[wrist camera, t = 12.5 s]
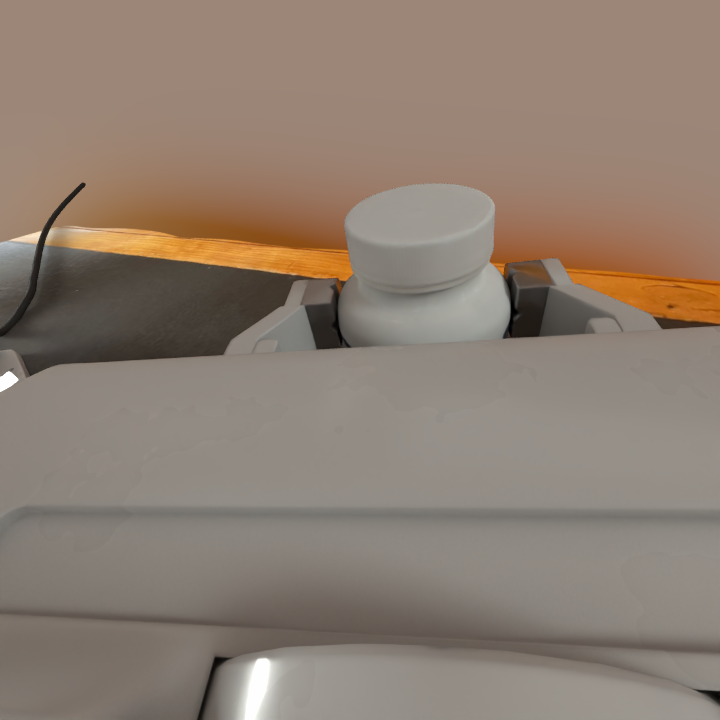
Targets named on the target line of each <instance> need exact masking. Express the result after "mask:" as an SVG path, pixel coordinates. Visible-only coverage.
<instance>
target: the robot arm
mask: <svg viewBox="0 0 720 720" xmlns="http://www.w3.org/2000/svg"><path fill="white" fill-rule="evenodd" d="M84 187H85V183H81V184H80V185H79V186H78V187H77V188H76V189H75V190H74V191H73V192H72V193H71V194H70V195H69V196H68V197H67V198H66V199H65V200H64V201H63V202H62V203H61V204H60V206H59V207H58V208H57V209H56V210H55V211H54V213H53V214H52V216H51V217H50V218H49V220H48V222H47V223H46V225H45V227H44V229H43V231H42V233H41V235H40V238H39V241H38V244H37V247H36V252H35V256H34V261H33V265H32V270H31V274H30V278H29V285H28V290H27V292H26V295H25V296H24V298H23V300H22V301H21V303H20V305H19V306H18V308H17V310H16V311H15V313H14V314H13V316H12V317H11V318H10V320H9V321H8V322H7V323H6V324H5V325H4V326H2V327H1V328H0V336H3V335H4V334H6V333H7V332H8V331H9V330H10V329H11V328H12V327H13V326H14V325H15V324H16V323H17V322H18V321H19V320H20V319H21V317H22V316H23V314H24V312H25V311H26V309H27V307H28V305H29V304H30V302H31V300H32V298H33V296H34V294H35V291H36V285H37V278H38V273H39V268H40V262H41V257H42V251H43V247H44V243H45V240H46V237H47V234H48V232H49V230H50V228H51V226H52V224H53V222H54V221H55V219H56V218H57V216H58V215H59V214H60V212H61V211H62V210H63V209H64V208H65V206H66V205H67V204H68V203H69V202H70V201H71V200H72V199H73V198H74V197H75V196H76V195H77V194H78V193H79V192H80V190H82V188H84ZM503 277H504V279H505V281H506V282H507V285H508V287H509V291H510V297H511V312H510V322H509V329H508V331H509V334H510V337H526V338H509V339H492V340H475V341H458V342H441V343H424V344H406V345H389V346H372V347H355V348H341V346H342V337H341V333H340V329H339V320H338V310H337V307H338V300H339V296H340V293H341V285H340V281H339V279H338V278H328V279H313V280H300V281H295V282H294V283H293V285H292V288H291V290H290V293H289V296H288V298H287V301H286V303H285V306H284V307H279V308H278V309H276V310H275V311H273V312H272V313H270V314H269V315H267V316H266V317H265V318H263V319H262V320H260V321H259V322H257V323H256V324H254V325H253V326H251V327H250V328H248V329H247V330H245V331H244V332H242V333H241V334H240V335H238V336H237V337H235V338H234V339H232V340H231V341H230V343H229V345H228V347H227V349H226V351H225V353H224V355H219V356H202V357H185V358H167V359H150V360H133V361H116V362H98V363H74V364H61V365H56V366H53V367H50V368H48V369H45V370H43V371H41V372H39V373H36V374H34V375H32V376H30V375H29V373H28V370H27V368H26V366H25V364H24V362H23V360H22V358H21V356H20V355H19V354H18V353H17V352H15V351H14V350H3V351H0V720H720V326H713V327H696V328H679V329H662V328H661V327H660V326H659V325H658V323H657V322H656V321H655V320H654V318H653V317H652V316H651V314H649V313H647V312H645V311H642V310H640V309H637V308H635V307H633V306H630V305H628V304H626V303H623V302H621V301H619V300H616V299H614V298H611V297H609V296H607V295H604V294H602V293H600V292H597V291H595V290H593V289H590V288H588V287H586V286H583V285H581V284H574V283H573V282H572V280H571V279H570V277H569V275H568V274H567V272H566V271H565V269H564V267H563V266H562V264H561V263H560V261H559V259H557V258H552V259H543V260H533V261H524V262H515V263H507V264H505V268H504V275H503ZM329 348H338V349H329ZM317 349H320V350H317Z"/></svg>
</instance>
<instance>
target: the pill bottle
mask: <svg viewBox="0 0 720 720" xmlns="http://www.w3.org/2000/svg"><path fill="white" fill-rule="evenodd" d="M494 220H495V206H494V203H493V201H492V200H491V198H489V196H487V195H486V194H484V193H483V192H480V191H478V190H476V189H473V188H469V187H466V186H461V185H454V184H417V185H410V186H404V187H399V188H394V189H391V190H387V191H384V192H381V193H378V194H375V195H373V196H371V197H368V198H366V199H364V200H363V201H361V202H360V203H358V204H357V205H356V206H355V207H354V208H352V209H351V210H350V211H349V213H348V214H347V216H346V218H345V232H346V239H347V245H348V251H349V258H350V262H351V268H352V270H353V273H354V274H353V275H352V276H351V277H350V278H349V279H348V280H347V282H346V283H345V285H344V287H343V289H342V291H341V293H340V296H339V300H338V307H337V310H338V320H339V329H340V333H341V337H342V341H343V345H344V348H355V347H372V346H389V345H406V344H424V343H441V342H458V341H475V340H492V339H507V336H508V329H509V322H510V312H511V297H510V291H509V287H508V285H507V282H506V281H505V279H504V277H503V275H502V274H501V273H500V272H499V270H498V269H497V268H496V267H495V266H493V265H492V264H491V263H490V262H489V260H490V256H491V254H492V252H493V249H494V240H493V236H494Z"/></svg>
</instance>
